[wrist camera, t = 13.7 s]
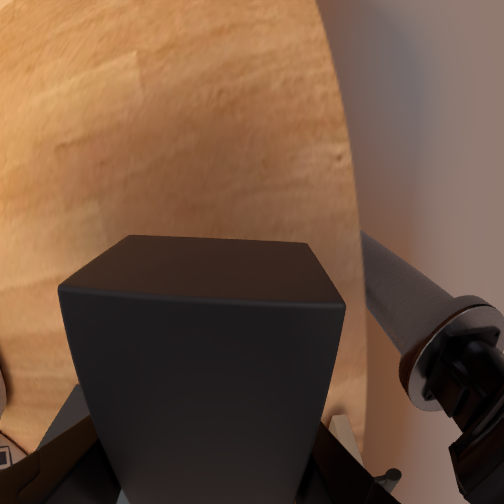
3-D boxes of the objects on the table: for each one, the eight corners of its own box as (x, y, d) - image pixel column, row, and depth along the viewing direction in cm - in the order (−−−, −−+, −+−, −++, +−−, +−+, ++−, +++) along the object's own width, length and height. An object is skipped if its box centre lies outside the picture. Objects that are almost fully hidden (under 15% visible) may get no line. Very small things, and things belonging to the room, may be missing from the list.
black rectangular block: (307, 242, 8) (348, 303, 4) (274, 474, 10) (278, 545, 7) (128, 233, 8) (54, 285, 4) (162, 465, 10) (146, 534, 7)
